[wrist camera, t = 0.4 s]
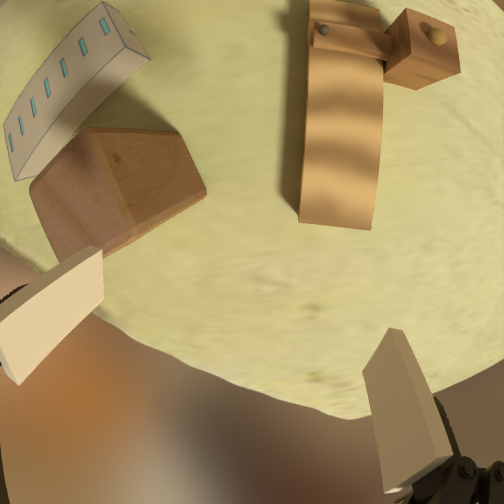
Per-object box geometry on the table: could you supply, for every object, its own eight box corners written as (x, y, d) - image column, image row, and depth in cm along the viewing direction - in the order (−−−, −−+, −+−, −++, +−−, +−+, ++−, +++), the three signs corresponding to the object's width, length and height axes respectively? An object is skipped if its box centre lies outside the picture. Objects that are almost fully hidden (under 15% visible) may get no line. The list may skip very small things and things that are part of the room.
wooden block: (181, 130, 34) (83, 122, 15) (211, 194, 37) (136, 241, 18) (127, 164, 37) (22, 187, 18) (154, 223, 39) (64, 281, 21)
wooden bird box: (311, 32, 27) (318, -18, 15) (414, 54, 25) (459, 23, 13) (310, 69, 29) (320, 28, 17) (415, 90, 27) (466, 70, 15)
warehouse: (120, 11, 27) (95, -3, 20) (152, 60, 31) (126, 46, 24) (22, 122, 36) (-4, 124, 29) (43, 174, 39) (14, 181, 32)
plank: (308, 10, 25) (309, -4, 22) (371, 20, 24) (379, 9, 21) (297, 215, 36) (298, 222, 32) (362, 222, 35) (370, 230, 32)
